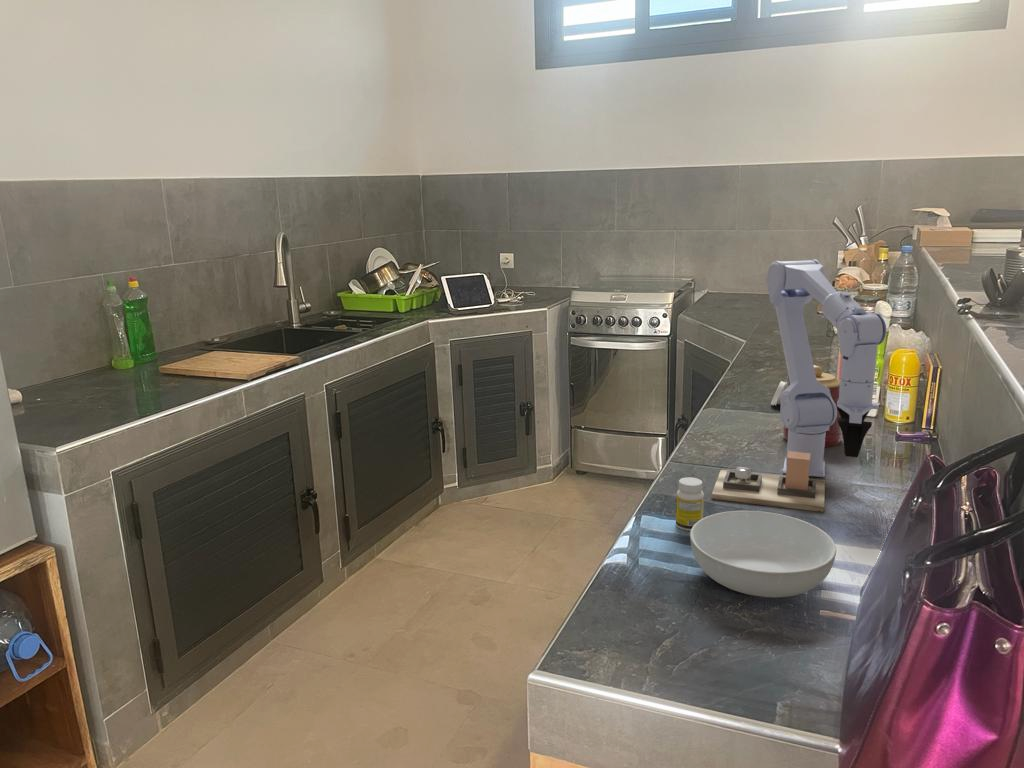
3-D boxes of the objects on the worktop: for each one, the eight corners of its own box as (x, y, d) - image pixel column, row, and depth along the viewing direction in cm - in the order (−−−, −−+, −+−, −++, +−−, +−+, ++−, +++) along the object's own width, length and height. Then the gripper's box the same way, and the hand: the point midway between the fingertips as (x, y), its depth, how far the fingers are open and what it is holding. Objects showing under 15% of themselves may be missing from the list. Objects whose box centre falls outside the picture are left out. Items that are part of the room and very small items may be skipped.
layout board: (720, 474, 162) (721, 464, 162) (824, 485, 155) (825, 474, 155) (711, 498, 150) (712, 487, 149) (823, 512, 142) (824, 500, 142)
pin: (735, 480, 156) (736, 466, 155) (751, 482, 155) (752, 467, 154) (733, 485, 153) (734, 471, 152) (749, 487, 152) (750, 472, 151)
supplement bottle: (683, 518, 141) (685, 474, 139) (707, 524, 138) (709, 480, 136) (670, 527, 137) (672, 482, 135) (695, 534, 134) (697, 488, 132)
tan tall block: (786, 485, 153) (788, 451, 151) (807, 487, 151) (810, 453, 150) (784, 492, 149) (787, 457, 148) (807, 495, 148) (809, 459, 146)
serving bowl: (661, 581, 119) (662, 539, 117) (733, 537, 133) (735, 500, 131) (791, 633, 104) (795, 586, 103) (856, 578, 118) (860, 536, 117)
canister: (842, 434, 186) (848, 362, 182) (839, 451, 175) (846, 374, 171) (785, 428, 192) (789, 358, 187) (778, 444, 180) (783, 369, 176)
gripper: (883, 390, 136) (876, 464, 139) (878, 372, 149) (872, 440, 152) (839, 387, 138) (833, 460, 141) (838, 370, 151) (833, 437, 155)
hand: (850, 450), depth 147 cm, fingers open, 7 cm apart
